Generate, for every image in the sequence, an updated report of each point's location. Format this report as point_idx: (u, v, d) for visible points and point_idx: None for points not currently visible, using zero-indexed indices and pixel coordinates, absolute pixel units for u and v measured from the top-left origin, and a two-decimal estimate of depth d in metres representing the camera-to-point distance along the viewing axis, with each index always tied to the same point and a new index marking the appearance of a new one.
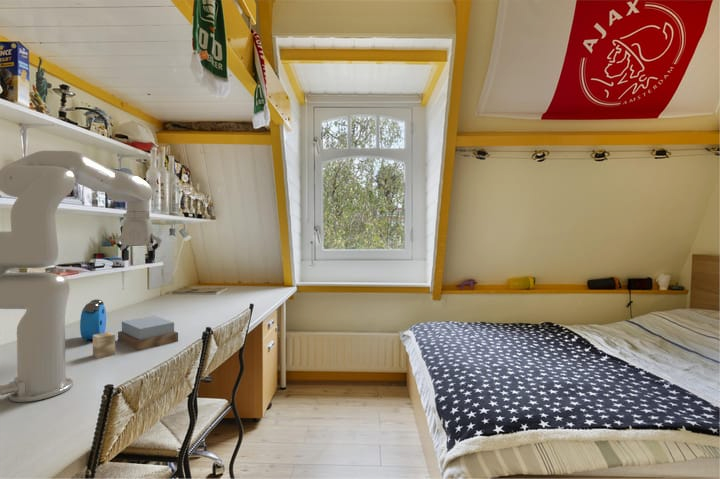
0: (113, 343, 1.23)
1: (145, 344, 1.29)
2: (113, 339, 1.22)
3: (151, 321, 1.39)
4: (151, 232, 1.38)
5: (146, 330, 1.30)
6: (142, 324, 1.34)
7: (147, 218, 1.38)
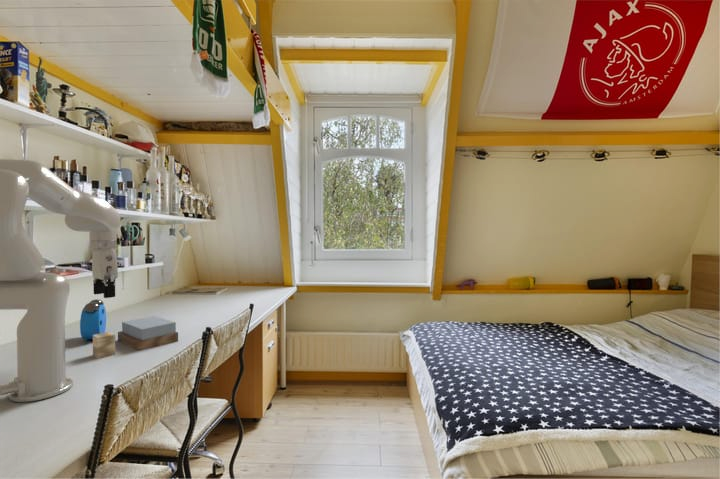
0: (113, 343, 1.23)
1: (145, 344, 1.29)
2: (113, 339, 1.22)
3: (152, 321, 1.39)
4: None
5: (148, 330, 1.30)
6: (143, 324, 1.34)
7: None
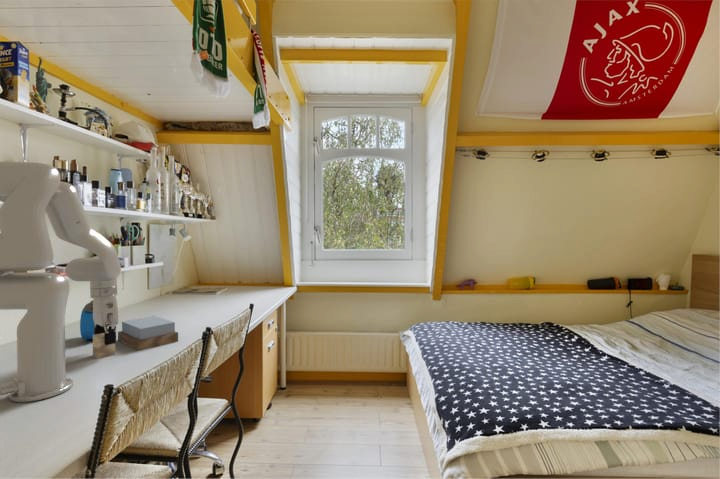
0: None
1: (145, 344, 1.29)
2: None
3: (151, 321, 1.39)
4: None
5: (147, 330, 1.30)
6: (143, 324, 1.34)
7: None
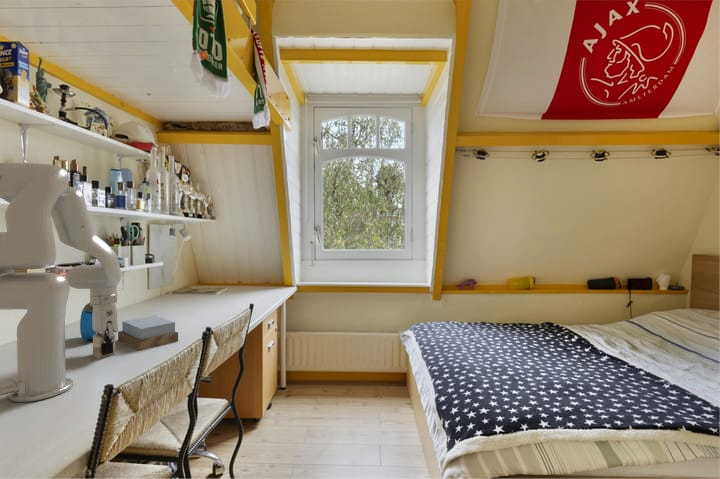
0: (113, 343, 1.23)
1: (145, 344, 1.29)
2: (113, 339, 1.22)
3: (152, 321, 1.39)
4: None
5: (147, 330, 1.30)
6: (143, 324, 1.34)
7: None
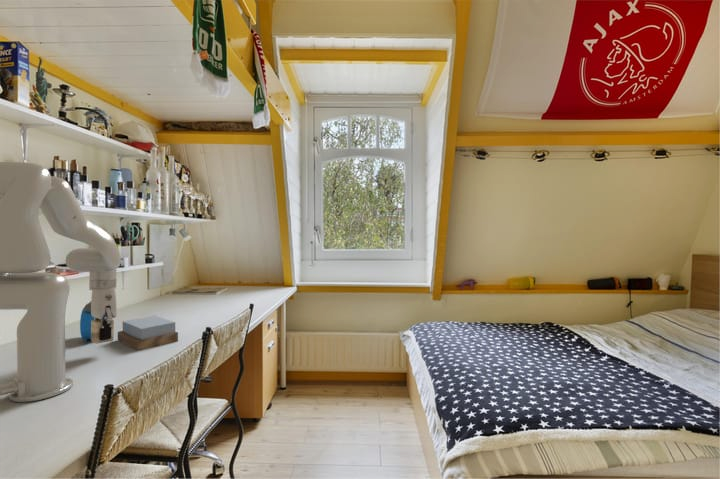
0: (111, 329, 1.22)
1: (145, 344, 1.29)
2: (111, 324, 1.21)
3: (152, 321, 1.39)
4: None
5: (148, 330, 1.30)
6: (143, 324, 1.34)
7: None
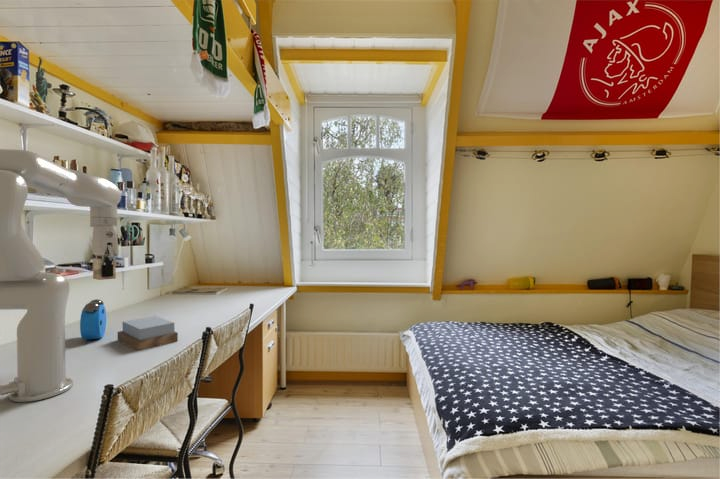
0: (113, 267, 1.22)
1: (144, 344, 1.29)
2: (113, 262, 1.22)
3: (151, 321, 1.38)
4: None
5: (146, 331, 1.30)
6: (142, 324, 1.34)
7: None
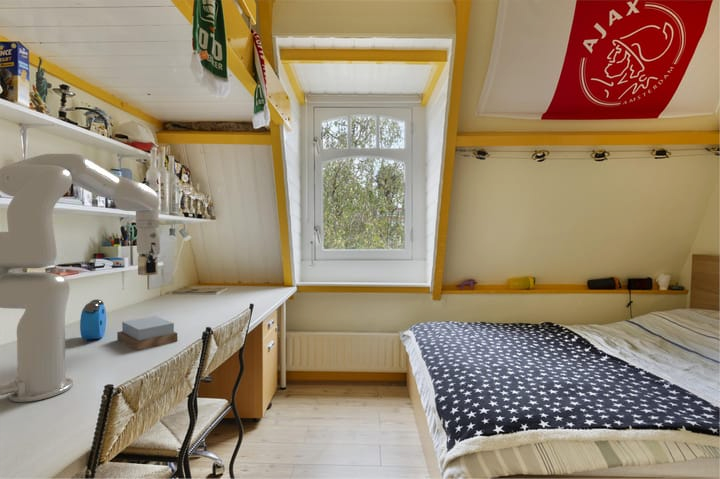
0: (156, 264, 1.38)
1: (144, 345, 1.29)
2: None
3: (151, 322, 1.38)
4: None
5: (145, 331, 1.29)
6: (142, 325, 1.34)
7: None
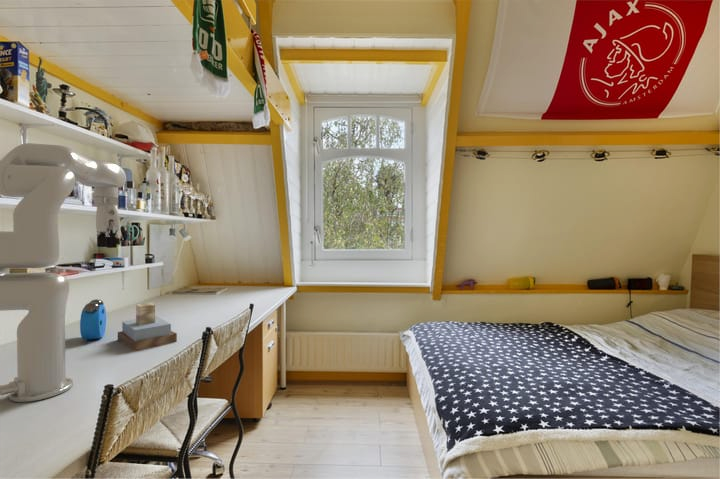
0: (153, 312, 1.37)
1: (143, 345, 1.28)
2: (153, 308, 1.37)
3: None
4: None
5: (141, 332, 1.29)
6: (139, 325, 1.34)
7: None
